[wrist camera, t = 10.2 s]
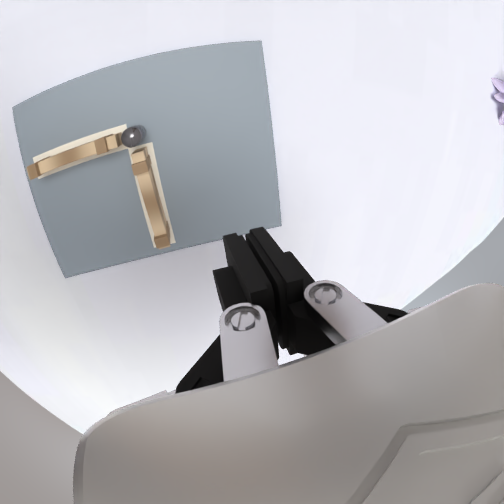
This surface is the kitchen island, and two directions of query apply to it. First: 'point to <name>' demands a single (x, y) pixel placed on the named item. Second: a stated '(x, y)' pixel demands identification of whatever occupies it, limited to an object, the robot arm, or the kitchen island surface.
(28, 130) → the board
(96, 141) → the fixed fence rail
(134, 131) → the fence post
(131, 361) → the kitchen island surface
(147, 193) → the tan wooden bar
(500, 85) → the water lily
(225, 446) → the robot arm
